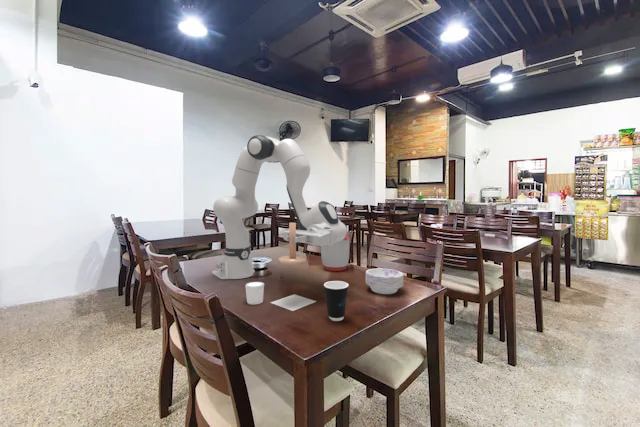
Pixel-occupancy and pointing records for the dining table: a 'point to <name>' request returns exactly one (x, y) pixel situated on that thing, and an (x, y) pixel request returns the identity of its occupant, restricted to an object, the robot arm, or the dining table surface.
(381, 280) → the paper bowls
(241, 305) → the dining table surface
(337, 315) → the dixie cup
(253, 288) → the white round tub
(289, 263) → the peg on round base
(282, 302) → the mat
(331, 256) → the citrus juicer
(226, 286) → the dining table surface
